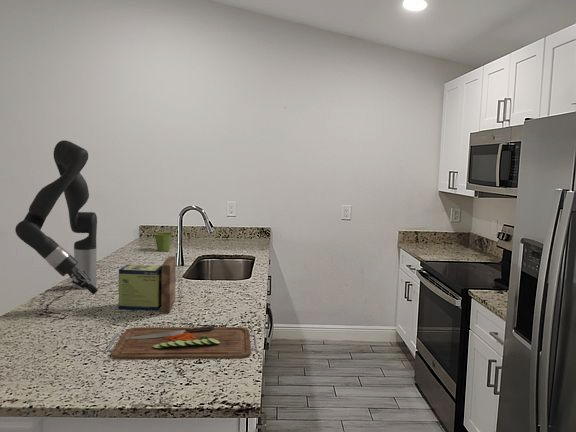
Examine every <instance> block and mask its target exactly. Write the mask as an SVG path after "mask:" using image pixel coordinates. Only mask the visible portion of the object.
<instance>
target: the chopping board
mask: <svg viewBox="0 0 576 432" xmlns="http://www.w3.org/2000/svg"><path fill="white" fill-rule="evenodd" d="M118 337H120V339H119V340H118V342H117V343H116V345H115V346H114V348H111V347H112V346H113V344H114V343H115V341H116V340H117V338H118ZM251 337H253V339H254V340H253V341H254V346H255V348H252V346H251ZM258 345H259V343H258V338H257V333H256V332H253V334H251V333H250V330H249V328H247V327H240V326H238V327H237V326H236V327H235V326H234V327H233V326H228V327H227V326H224V327H223V326H222V327H221V326H218V327H217V326H216V327H215V325H207V326H197V327H194V326H191V327H189V326H188V327H187V326H185V327H184V326H183V327H182V326H177V327H176V326H172V327H170V326H168V327H164V326H163V327H159V326H158V327H157V326H155V327H151V326H150V327H149V326H147V327H145V326H141V327H140V326H139V327H137V326H136V327H135V326H134V327H131V328H127V329H126V330H125V332H124V333H123V334H120V333H119V332H117V333H116V334H115V336H114V337H113V339H112V340H111V341H110V343H109V344H108V345H107V347H106V348H105V350H104V351H103V352H104V353H108V352H111V354H110V355H111V356H110V357H112V359H116V360H157V359H160V360H161V359H163V360H167V359H169V360H170V359H171V360H174V359H175V360H176V359H181V360H182V359H184V360H185V359H188V360H189V359H246V358H249V357H250V356H251V355H252V351H255V352H259V346H258Z"/></svg>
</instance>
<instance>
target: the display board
mask: <svg viewBox="0 0 576 432" xmlns="http://www.w3.org/2000/svg"><path fill="white" fill-rule="evenodd" d="M176 264H177V256H176V255H172V256H169V255H168V256H167V257H166V259H165V260H164V262H163V263H162V264H161V266H162V298H161V308H160V310H161V311H160V312H161V314H170V313H171V311H172V309H173V306H174V304H175V301H176V276H177V275H176V273H177V272H176V268H177V265H176Z"/></svg>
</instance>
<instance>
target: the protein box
mask: <svg viewBox="0 0 576 432" xmlns="http://www.w3.org/2000/svg"><path fill="white" fill-rule="evenodd" d="M161 298H162V265H155V264H153V265H152V264H151V265H149V264H126V265H125V266H123V267H121V268H119V269H118V298H117V299H118V300H117V301H118V304H117V309H118V310H122V311H123V310H127V311H155V312H157V311H159V310H161Z"/></svg>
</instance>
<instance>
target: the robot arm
mask: <svg viewBox="0 0 576 432" xmlns="http://www.w3.org/2000/svg"><path fill="white" fill-rule="evenodd" d="M53 160H54V162H55V165H56V167H57V170H58V173H59V177H58V178H56V179H55V180H54V181H52V182H50V183H48V184H47V185H45V186H44V187H42V188H41V189H40V190H39V191H38V193H37V194H36V196H35V197H34V198H33V201H32V202H30V203H31V204H30V205H29V208H28V212H27V213H26V216H25V217H24V219H23V220H21V221H20V222H18V223H17V224H16V226H15V230H14V231H15V234H16V236H17V237H18V238H19V240H21V241H22V242H24V243H25V244H26V245H27V246H29V247H30V248H32V249H33V250H34V251H36V253H38V255H39V256H41V257H42V259H44V260H45V261H46V262H47V264H48V265H49V266H51V267H52V268H53V269H54V270H55V271H56V272H57V273H58V274H59V275H61V276H62V277H65V276H66V275H68V276H69V279H70V280H71V282H72V289H80V290H88V291H89V293H90V294H92V295H95V294H96V293H97V292H98V291H99V290H98V288H97V286H98V285H97V283H98V282H97V278H98V277H97V273H98V272H97V234H98V233H97V230H98V229H97V228H98V217H97V214H96V212H93V211H87V212H86V211H80V210H81V209H82V208H83V207H84V206H85V205H86V203H88V200H89V197H90V193H89V187H88V182H87V181H86V179H85V177H84V176H83V175H82V174H81V171H82V170H83V169H84V167H85V166H86V165H87V162H88V160H89V152H88V150H87V149H85V148H83V147H81V146H79V145H77V144H75V143H73V142H72V141H69V140H66V139H65V140H60V141H59V142H57V143H56V145H55V146H54V148H53ZM62 194H64V198H65V201H66V205H67V208H68V209H67V210H68V220H69V226H70V229H71V231H72V233H74V234H88V235H87V236H86V237H85V238H83V239H80V240H77V241H75V242H73V255H71V253H69V252H68V251H67V250H66V249H64V248H63V247H62V246H60V244H58V242H56V241H55V240H54V239H53V238H52V237H50V236H48V235H46V233H44V232H43V231H42V227H43V226H44V223H45V221H46V219H47V217H48V216H49V214H51V212H52V210H53V208H54V206H55V205H56V203H57V201H58V200H59V198H60V197H61V195H62Z"/></svg>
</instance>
